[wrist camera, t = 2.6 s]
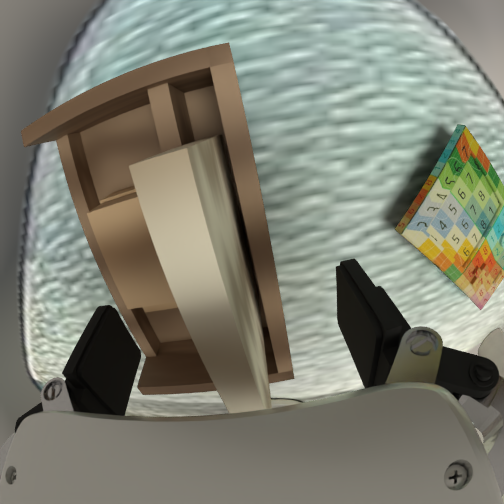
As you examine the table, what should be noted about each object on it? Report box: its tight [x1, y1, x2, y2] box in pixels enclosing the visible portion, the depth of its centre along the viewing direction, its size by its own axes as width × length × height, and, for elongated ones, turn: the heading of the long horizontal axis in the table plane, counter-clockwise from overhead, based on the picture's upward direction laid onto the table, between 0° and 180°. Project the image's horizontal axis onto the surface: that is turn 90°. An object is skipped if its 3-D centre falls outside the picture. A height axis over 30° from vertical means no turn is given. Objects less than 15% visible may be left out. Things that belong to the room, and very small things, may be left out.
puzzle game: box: [395, 125, 504, 310], centre depth 22 cm, size 12×5×20 cm
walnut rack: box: [21, 43, 294, 395], centre depth 19 cm, size 24×14×7 cm, turn 11°
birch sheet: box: [129, 134, 272, 413], centre depth 15 cm, size 14×2×14 cm, turn 11°
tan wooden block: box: [87, 186, 178, 313], centre depth 20 cm, size 10×5×5 cm, turn 11°
